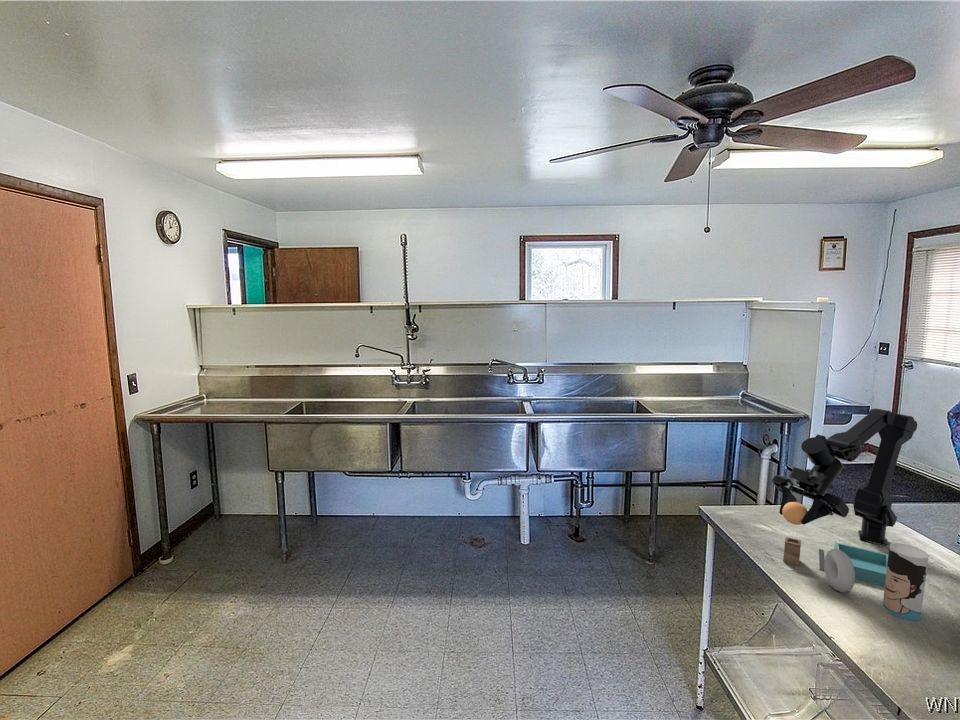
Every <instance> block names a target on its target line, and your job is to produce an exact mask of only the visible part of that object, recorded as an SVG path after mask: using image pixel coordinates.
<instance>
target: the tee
mask: <svg viewBox="0 0 960 720" xmlns="http://www.w3.org/2000/svg"><path fill="white" fill-rule="evenodd" d="M801 542H802V540H801V539H797V538H792V537H788V536H785V538H784V549H783V551H784V552H783V562H784V563H788V564H790V563H791V564H792V565H795V566H799V565H800V557H801V556H800V555H801V548H802V547H801V545H802V543H801ZM783 562H782V563H783ZM791 564H790V565H791ZM799 567H800V566H799Z"/></svg>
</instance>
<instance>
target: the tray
mask: <svg viewBox="0 0 960 720" xmlns="http://www.w3.org/2000/svg"><path fill="white" fill-rule="evenodd" d="M833 549H838V550H841V551H843V552H844V553H846V554H847V555H848V557H849V558H850V559H851V561H852V563H853V567H854V571H855V580H856V579H857V580H859V581H860V580H861V581H864V582H869V583H872V584H876V585H879V586H883V587H885V580H886V572H887V563H888V554H889V553H884V552H880V551H875V550H871V549H867V548H862V547H859V546H854V545H850V544H845V543H840V542H837V541H835V542H834V546H833Z"/></svg>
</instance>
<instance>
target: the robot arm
mask: <svg viewBox="0 0 960 720" xmlns="http://www.w3.org/2000/svg"><path fill="white" fill-rule="evenodd" d="M917 429H918V422H917V421H916V420H915V418H914V417H913V416H912V415H906V414H902V413H897V412H893V411H891V410H887V409H881V408H876V407H875V408H871V409H870V410H869V412H868V414H867V415H865V416H864V417H863V418H861V419H860V420H859V421H858V422H857V423H856V424H854V425H853V426H852V427H850V428H849V429H848V430H846V431H844V432H843V431H842V432H837V433H835V434H832V435H831V436H829V437H828V438H827V437H826V436H825V435H821V434H816V435H815V436H814V437H809V438H806V439H805V440H803V441H802V442H801V446H800V447H801V449H802V452H803V453H804V454H805V455H806V458H808V460H809V461H810V463H812V468H811V469H810V468H809V469H808V468H807V469H805V470H804V469H801V468H799V467H796V466H793V468H792V470H791V472H790V474H789V478H788V477H786V476H783V475H780V474H776V475H774V476H773V478H772V479H771V482H772V484H773V485H774V487H775V488H776V489H777V490H778V492H780V493H781V501H780V506H779V507H780V508H779V511H778V512H779V515H781V516H783V513H782V509H783V507H784V505H785V504H787V503H789V502H797V501H798V498H796V497H795V495H796V494H798V495H801V496H802V497H806V498H807V499H810V500H812V504H811V506H810V507H809V509H808V510H807V511H808V512H807V513H806V515H805V516H804V517H803V519H802V521H801V523H802V524H801V525H803V526H805V525H806V524H809V523H811V522H814V521H815V520H817V519H818V520H819V519H820V518H824V517H827V516H834V515H836V516H840V517H842V518H846V517H847V515H848V514H849V513H850V508H849V506H848V505H847V504H846V502H845V501H844V499H843V498H842V497H840V496H837V495H834V494H833V493H832V494H831V493H828V491H829V490H833V489H834V486H833V483H834V482H835V480H836V479H837V477H838V476H839V475H840V473H841V474H844V475H845V474H846V468H845V463H843V462H841V461H840V460H842V461H846V462H851V463H852V462H853V461H855V460H856V459H857V458H858V457H859V456H860V455H861V454H862V451H863V449H862V447H863V445H864V444H866V443H867V442H868V441H869V440H870V439H871V438H873V437H874V436H875V435H876V434H878V435H879V438H880V442H879V446H878V448H877V452H876V455H875V459H874V462H873V465H872V468H871V472H870V476H869V478H868V483H867V485H865V486H864V487H862V488H858V489H857V490H856V493H855V497H854V499H853V502H852V505H853V511H854V515H855V516H857V517H860V518H862V520H861V529H860V530H858V532H857V533H858V538H859V540H860V541H864V542H869V543H872V544H878V545H882V546H888V541H887V538H886V532H887V527H891V528H894V526H895V525H896V523H897V519H898V517H897V516H896V514H895V512H894V510H893V509H892V505H893V501H892V498H891V495H890V493H889V489H890V485H891V482H892V479H893V476H894V473H895V469H896V467H897V462H898V458H899V456H900V452H901V450H902V446H903V445H904V444H905V443H907V442H909V441H910V440H911V439H912V438H913V435H914V433H915V432H916V431H917ZM790 478H791V479H794V480H795V483H796V485H795V483H793V481H792V480H791V479H790ZM798 485H799V486H798Z"/></svg>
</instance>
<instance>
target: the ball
mask: <svg viewBox="0 0 960 720" xmlns="http://www.w3.org/2000/svg"><path fill="white" fill-rule="evenodd" d="M808 511H809V510H807V508H806V507H805V506H804V505H803V504H802V503H800V502H797V501H796V502H789V503H787V504H785V505H784V507H783V509H782V513H783V515H782V516H783V518H784V519H785V521H786V522H788V523H790V524H792V525H795V526H797V525H799V526H800V525H803V524H802V523H801V521H802V519H803V517H804V516H805V515H806V513H807V512H808Z"/></svg>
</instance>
